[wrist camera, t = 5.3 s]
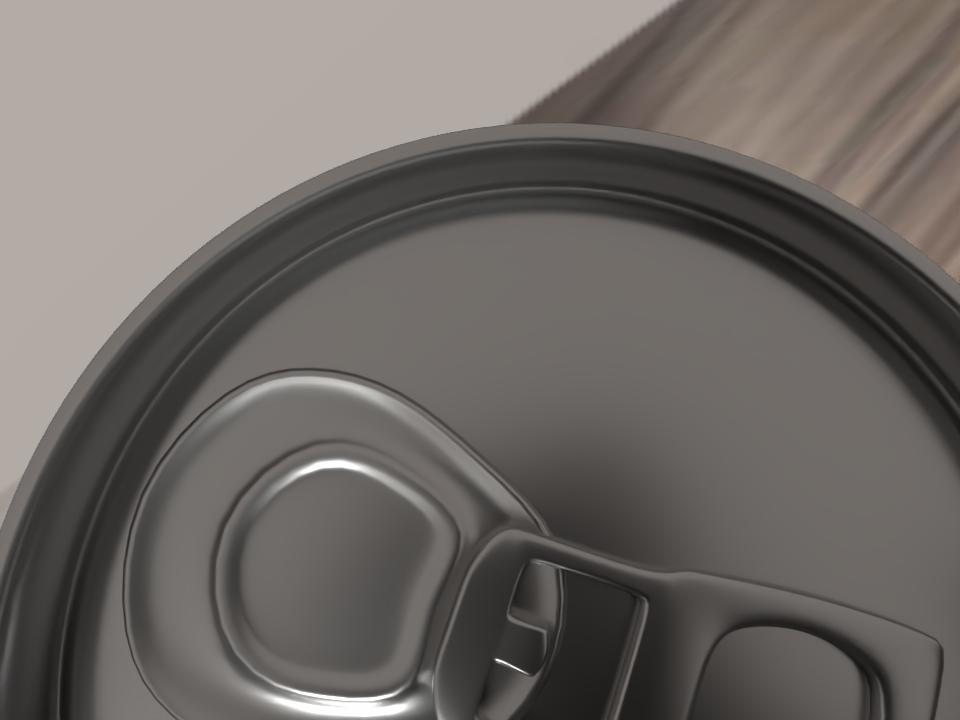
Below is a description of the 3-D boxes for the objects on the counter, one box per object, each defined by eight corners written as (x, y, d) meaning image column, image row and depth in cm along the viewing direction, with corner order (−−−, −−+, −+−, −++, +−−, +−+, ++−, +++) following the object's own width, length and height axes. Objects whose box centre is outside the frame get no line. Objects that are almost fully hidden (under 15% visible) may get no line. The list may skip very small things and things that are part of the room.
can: (423, 332, 15) (200, -97, 3) (664, 415, 15) (1382, 265, 3) (330, 579, 14) (-429, 1192, 2) (584, 675, 14) (1169, 1983, 2)
